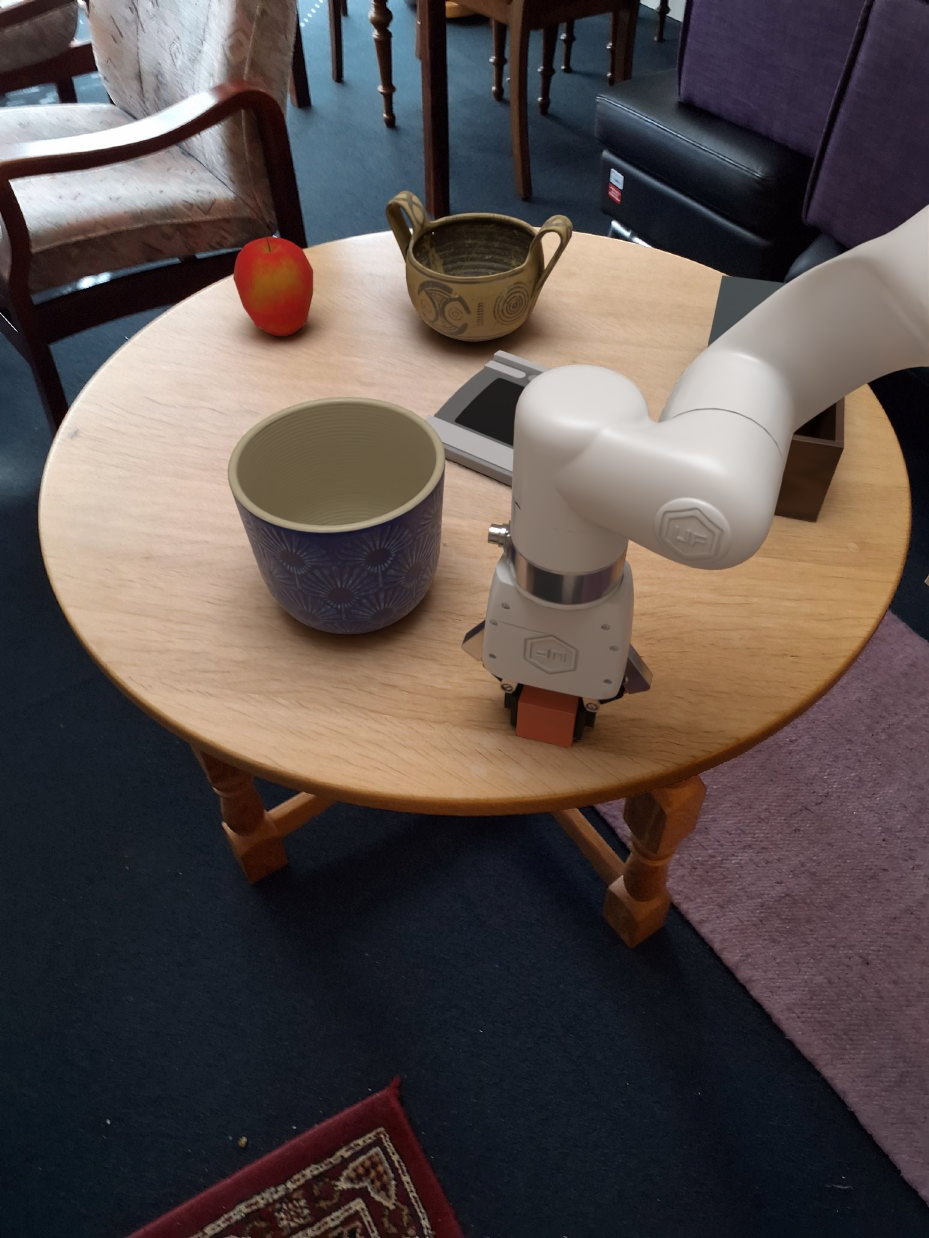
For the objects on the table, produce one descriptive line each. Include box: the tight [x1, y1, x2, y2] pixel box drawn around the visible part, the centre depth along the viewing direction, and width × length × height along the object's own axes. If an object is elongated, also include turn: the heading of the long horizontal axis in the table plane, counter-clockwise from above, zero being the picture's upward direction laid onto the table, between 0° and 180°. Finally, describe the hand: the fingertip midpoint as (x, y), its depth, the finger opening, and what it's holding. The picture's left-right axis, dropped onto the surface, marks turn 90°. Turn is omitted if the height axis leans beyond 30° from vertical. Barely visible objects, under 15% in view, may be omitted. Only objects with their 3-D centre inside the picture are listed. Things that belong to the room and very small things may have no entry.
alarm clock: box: [424, 349, 552, 487], centre depth 95 cm, size 17×5×16 cm
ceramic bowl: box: [385, 190, 574, 343], centre depth 106 cm, size 22×17×15 cm
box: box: [706, 331, 846, 523], centre depth 91 cm, size 14×18×9 cm
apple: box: [232, 236, 314, 337], centre depth 107 cm, size 9×9×12 cm
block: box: [515, 684, 580, 749], centre depth 70 cm, size 4×4×4 cm
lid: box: [707, 274, 788, 347], centre depth 92 cm, size 14×18×4 cm
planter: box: [227, 396, 446, 635], centre depth 76 cm, size 17×17×15 cm
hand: (549, 717), depth 71 cm, fingers closed on block, 4 cm apart
